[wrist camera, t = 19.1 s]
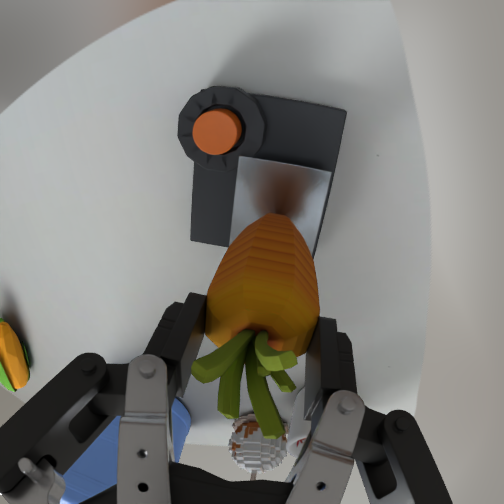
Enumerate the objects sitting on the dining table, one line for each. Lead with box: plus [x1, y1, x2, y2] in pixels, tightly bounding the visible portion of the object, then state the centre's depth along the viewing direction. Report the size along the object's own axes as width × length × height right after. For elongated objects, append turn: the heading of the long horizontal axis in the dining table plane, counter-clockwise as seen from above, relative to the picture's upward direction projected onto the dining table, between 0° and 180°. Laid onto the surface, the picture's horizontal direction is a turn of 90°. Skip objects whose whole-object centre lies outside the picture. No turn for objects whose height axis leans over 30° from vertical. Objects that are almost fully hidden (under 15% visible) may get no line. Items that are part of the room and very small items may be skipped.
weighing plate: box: [229, 155, 332, 256], centre depth 22 cm, size 8×6×1 cm
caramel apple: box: [228, 414, 289, 481], centre depth 35 cm, size 8×8×15 cm
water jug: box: [60, 398, 191, 504], centre depth 31 cm, size 16×16×28 cm
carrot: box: [191, 213, 320, 439], centre depth 15 cm, size 5×5×15 cm
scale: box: [177, 86, 347, 259], centre depth 22 cm, size 12×11×3 cm
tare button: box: [193, 108, 242, 155], centre depth 19 cm, size 3×3×2 cm
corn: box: [0, 318, 30, 392], centre depth 40 cm, size 7×8×20 cm
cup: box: [286, 387, 311, 458], centre depth 33 cm, size 11×8×8 cm
